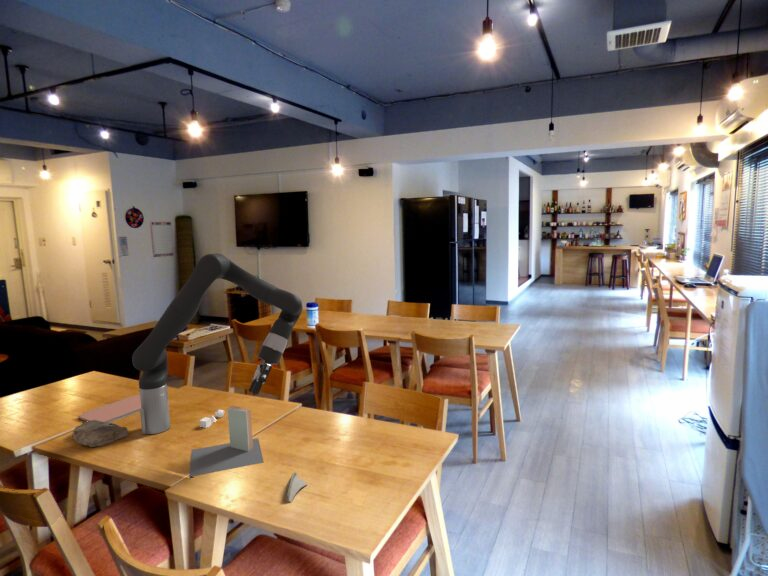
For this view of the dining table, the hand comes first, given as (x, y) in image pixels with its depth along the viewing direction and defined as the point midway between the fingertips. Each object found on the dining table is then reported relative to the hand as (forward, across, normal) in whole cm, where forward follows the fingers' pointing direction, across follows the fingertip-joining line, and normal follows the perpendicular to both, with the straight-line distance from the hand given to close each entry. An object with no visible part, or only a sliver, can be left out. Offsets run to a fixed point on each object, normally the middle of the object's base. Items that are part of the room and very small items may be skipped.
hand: (252, 392), depth 154 cm
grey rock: (+35, -40, -39) cm, 66 cm away
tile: (+18, -6, +5) cm, 20 cm away
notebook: (+26, -62, -37) cm, 77 cm away
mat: (+22, -3, +2) cm, 22 cm away
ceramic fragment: (+21, +23, +19) cm, 37 cm away
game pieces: (+16, -34, -4) cm, 38 cm away
